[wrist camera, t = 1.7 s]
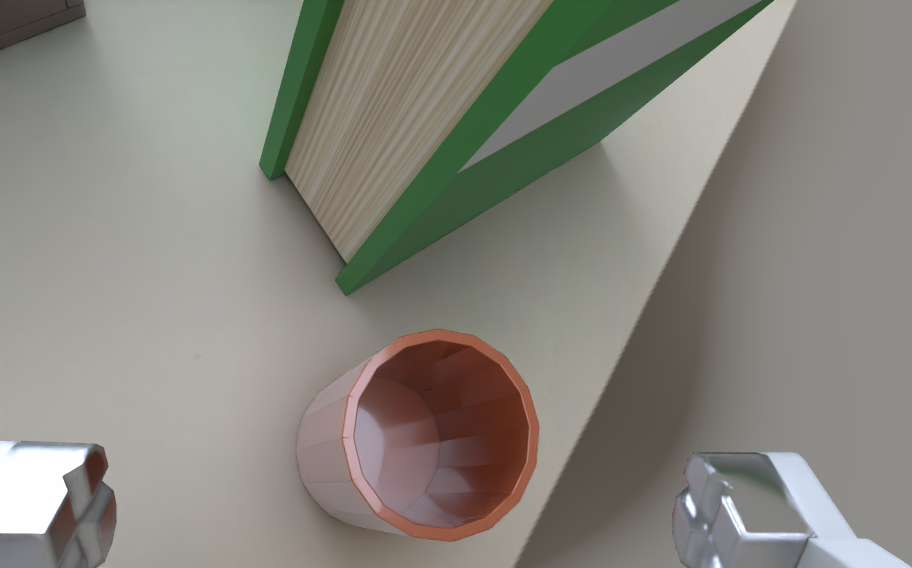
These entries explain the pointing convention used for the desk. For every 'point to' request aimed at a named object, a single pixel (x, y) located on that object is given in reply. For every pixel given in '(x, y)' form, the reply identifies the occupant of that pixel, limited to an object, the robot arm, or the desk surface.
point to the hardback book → (463, 104)
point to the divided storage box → (34, 17)
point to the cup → (421, 439)
